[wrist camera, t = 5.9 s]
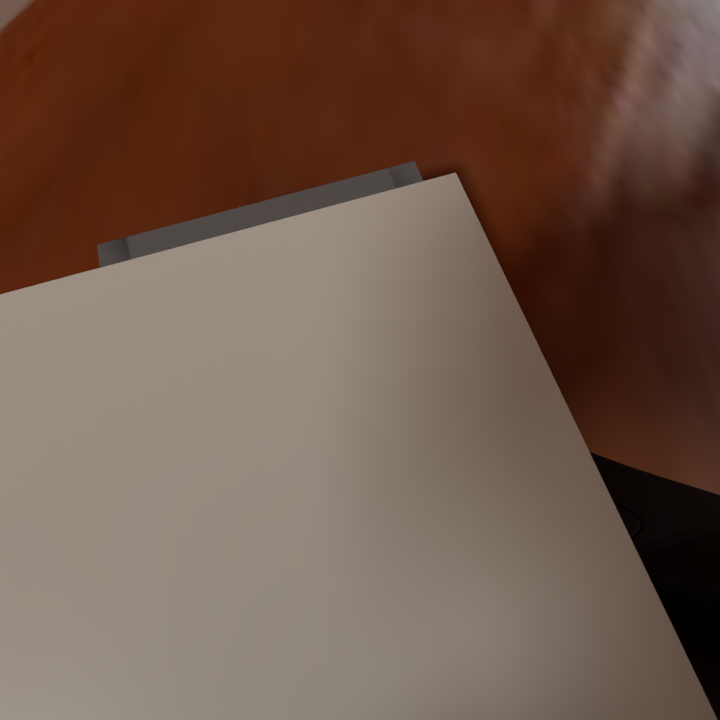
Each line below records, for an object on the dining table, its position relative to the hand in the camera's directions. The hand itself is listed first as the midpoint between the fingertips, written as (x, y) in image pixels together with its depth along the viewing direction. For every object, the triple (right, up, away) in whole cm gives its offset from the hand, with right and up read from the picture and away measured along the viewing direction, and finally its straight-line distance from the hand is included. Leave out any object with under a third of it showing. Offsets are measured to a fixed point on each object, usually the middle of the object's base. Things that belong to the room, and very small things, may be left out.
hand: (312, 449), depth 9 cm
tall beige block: (+1, -3, +6) cm, 7 cm away
